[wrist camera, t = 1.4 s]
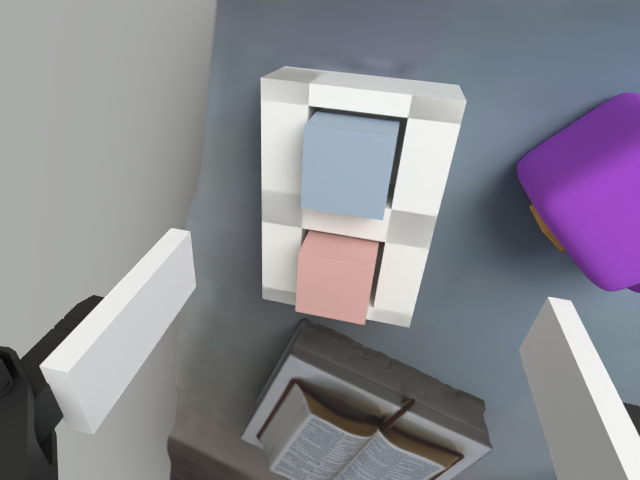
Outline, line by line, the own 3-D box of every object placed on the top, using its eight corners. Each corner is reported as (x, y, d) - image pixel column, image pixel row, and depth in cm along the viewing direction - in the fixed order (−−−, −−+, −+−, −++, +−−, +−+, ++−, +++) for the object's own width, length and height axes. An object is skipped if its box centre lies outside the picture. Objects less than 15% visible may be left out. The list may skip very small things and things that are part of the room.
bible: (327, 289, 44) (306, 355, 36) (508, 413, 48) (527, 499, 40) (235, 386, 57) (204, 452, 48) (385, 479, 60) (380, 555, 52)
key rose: (369, 297, 37) (364, 325, 33) (305, 285, 37) (295, 311, 34) (379, 241, 33) (375, 266, 30) (309, 230, 34) (298, 252, 31)
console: (410, 288, 41) (409, 327, 36) (280, 264, 43) (262, 298, 38) (458, 85, 31) (466, 101, 26) (284, 66, 33) (260, 77, 28)
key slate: (386, 198, 31) (382, 220, 28) (311, 187, 32) (300, 207, 29) (399, 121, 28) (397, 136, 25) (316, 111, 29) (304, 124, 26)
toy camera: (601, 269, 36) (657, 350, 28) (490, 178, 34) (513, 235, 26) (733, 183, 31) (852, 252, 22) (608, 68, 29) (687, 96, 20)
